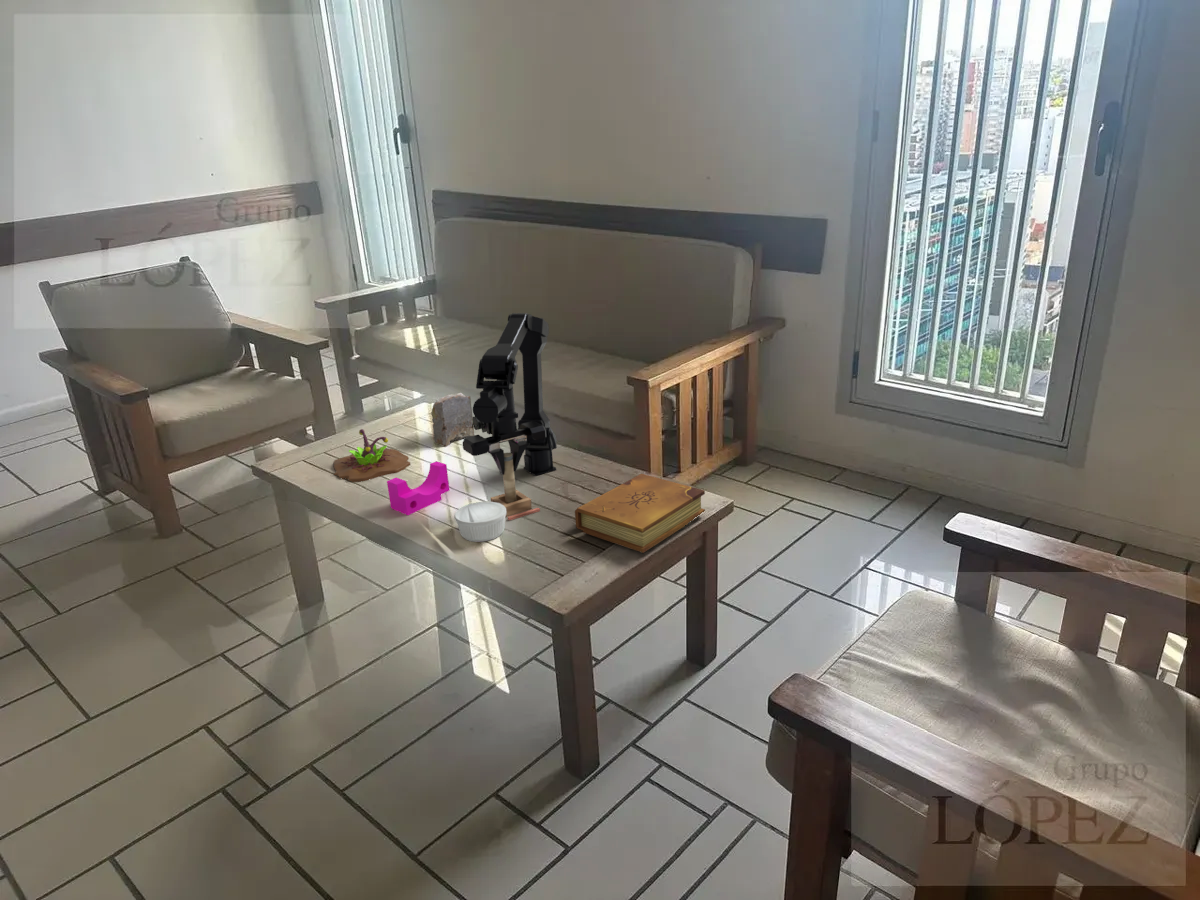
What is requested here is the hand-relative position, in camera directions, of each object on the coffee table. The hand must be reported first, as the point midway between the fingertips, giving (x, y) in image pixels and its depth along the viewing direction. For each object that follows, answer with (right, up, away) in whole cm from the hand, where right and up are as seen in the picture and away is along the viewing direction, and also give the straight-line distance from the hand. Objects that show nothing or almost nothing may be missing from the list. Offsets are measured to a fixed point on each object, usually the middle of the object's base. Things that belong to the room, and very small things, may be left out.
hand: (508, 472), depth 195 cm
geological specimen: (-20, +7, +46) cm, 51 cm away
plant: (-40, 0, +32) cm, 51 cm away
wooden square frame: (+1, -9, +2) cm, 9 cm away
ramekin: (-5, -13, -8) cm, 16 cm away
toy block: (-21, -8, +9) cm, 25 cm away
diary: (+30, -11, -6) cm, 33 cm away
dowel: (0, -7, +2) cm, 7 cm away
